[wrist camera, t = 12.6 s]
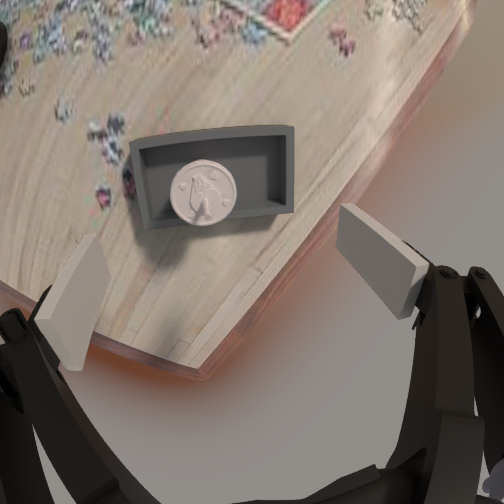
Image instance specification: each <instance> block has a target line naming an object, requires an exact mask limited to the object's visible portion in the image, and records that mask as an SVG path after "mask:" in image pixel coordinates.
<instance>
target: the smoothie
mask: <svg viewBox="0 0 504 504" xmlns="http://www.w3.org/2000/svg"><path fill="white" fill-rule="evenodd" d="M236 196H237V190H236V185H235V181H234V179H233V177H232V175H231V174H230V172H229V171H228V170H227V169H226V168H225V167H223V166H222V165H220V164H219V163H216V162H213V161H208V160H205V159H198V160H195V161H194V162H192V163H190V164H188V165H186V166H184V167H183V168H182V169H181V170H180V171H178V172H177V174H176V176H175V177H174V179H173V181H172V184H171V188H170V200H171V204H172V207H173V209H174V211H175V212H176V214H177V215H178V216H179V217H180V218H181V219H183V220H184V221H186V222H187V223H190V224H192V225H197V226H208V225H213V224H215V223H218V222H220V221H221V220H223V219H224V218H225V217H226V216H227V215H228V214H229V213H230V212H231V210H232V209H233V207H234V205H235V202H236Z"/></svg>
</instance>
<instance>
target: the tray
mask: <svg viewBox="0 0 504 504" xmlns="http://www.w3.org/2000/svg"><path fill="white" fill-rule="evenodd" d="M129 145H130V153H131V160H132V167H133V174H134V180H135V186H136V192H137V198H138V203H139V209H140V214H141V219H142V224H143V229H144V230H150V229H157V228H164V227H172V226H179V225H187V224H190V223H187V222H186V221H184V220H183V219H181V218H180V217H179V216H178V215H177V214H176V212H175V211H174V209H173V207H172V204H171V200H170V188H171V184H172V181H173V179H174V177H175V176H176V174H177V172H178V171H180V170H181V169H182V168H183V167H184V166H186V165H188V164H190V163H192V162H194V161H195V160H198V159H205V160H208V161H213V162H216V163H219V164H220V165H222V166H223V167H225V168H226V169H227V170H228V171H229V172H230V174H231V175H232V177H233V179H234V181H235V185H236V190H237V196H236V202H235V205H234V207H233V209H232V210H231V212H230V213H229V214H228V215H227V216H226V217H225V218H224V219H223V220H228V219H237V218H246V217H255V216H265V215H275V214H285V213H294V127H293V126H288V125H257V126H237V127H223V128H212V129H201V130H192V131H184V132H176V133H169V134H163V135H156V136H150V137H144V138H139V139H135V140H133V141H131V142H129Z"/></svg>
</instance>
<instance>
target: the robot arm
mask: <svg viewBox="0 0 504 504" xmlns="http://www.w3.org/2000/svg"><path fill="white" fill-rule="evenodd" d="M6 46H7V30H6V27H5V25H4V24H3V22H1V21H0V67H1V64H2V62H3V59H4V55H5V51H6ZM336 248H337V250H338V251H339V252H340V253H341V254H342V255H343V256H344V257H345V258H346V260H347V261H348V262H349V263H350V264H351V265H352V266H353V267H354V268H355V270H356V271H357V272H358V273H359V274H360V275H361V277H362V278H363V279H364V280H365V281H366V282H367V283H368V285H369V286H370V287H371V288H372V289H373V290H374V292H375V293H376V294H377V295H378V296H379V298H380V299H381V300H382V301H383V302H384V304H385V305H386V306H387V307H388V308H389V310H390V311H391V312H392V313H393V315H394V316H395V317H396V318H397V319H398V320H401V319H404V318H407V317H410V316H411V314H412V312H413V309H414V307H415V306H416V307H417V308H418V309H419V310H420V311H419V313H418V315H417V318H416V320H415V322H414V325H413V327H412V330H414V328H415V327H416V338H415V349H414V358H413V366H412V374H411V380H410V387H409V393H408V398H407V403H406V408H405V413H404V418H403V422H402V427H401V431H400V435H399V439H398V443H397V446H396V448H395V451H394V452H393V454H392V456H391V457H390V459H389V461H388V463H387V465H386V468H384V469H377V468H376V465H375V464H373V465H371V466H369V467H366V468H364V469H361V470H359V471H357V472H354V473H352V474H349V475H346V476H344V477H341V478H339V479H338V480H336V481H334V482H333V483H331V484H329V485H328V486H326V487H324V488H323V489H321V490H319V491H317V492H316V493H314V494H312V495H310V496H308V497H306V498H304V499H300V500H254V501H248V502H240V503H233V504H504V296H503V294H502V292H501V291H500V289H499V288H498V286H497V284H496V283H495V281H494V280H493V278H492V277H491V275H490V274H489V273H488V272H487V271H486V270H485V269H483V268H481V267H471V268H470V270H469V273H468V276H460V275H459V274H458V273H457V272H456V271H455V270H454V269H452V268H450V267H448V266H443V265H441V266H437V267H436V266H434V264H432V263H431V262H430V261H429V260H428V259H427V258H425V257H424V256H423V255H422V254H420V253H419V252H418V251H417V250H414V248H413V247H412V246H411V245H409V244H408V243H406V242H404V241H402V240H400V239H399V238H398V237H396V236H395V235H394V234H393V233H391V232H390V231H389V230H387V229H386V228H385V227H384V226H382V225H381V224H380V223H378V222H377V221H376V220H374V219H373V218H372V217H370V216H369V215H367V214H366V213H365V212H363V211H362V210H361V209H359V208H358V207H356V206H355V205H354V204H352V203H348V204H340V213H339V222H338V232H337V240H336ZM110 279H111V275H110V272H109V269H108V266H107V262H106V259H105V256H104V253H103V249H102V246H101V243H100V239H99V236H98V232H97V233H92V234H86V235H85V236H84V237H83V239H82V240H81V242H80V243H79V244H78V246H77V247H76V249H75V250H74V252H73V253H72V255H71V256H70V258H69V260H68V261H67V263H66V264H65V266H64V267H63V269H62V271H61V272H60V274H59V276H58V277H57V279H56V281H55V282H54V284H53V285H50V286H49V287H48V288H47V289H46V290H45V291H44V292H43V294H42V296H41V297H40V299H39V301H38V303H37V305H36V307H35V308H34V310H33V312H32V314H31V316H30V318H29V320H28V321H26V319H25V317H24V315H23V314H22V312H21V310H20V309H18V308H13V309H10V310H8V311H6V312H5V313H3V314H2V315H1V316H0V335H1V337H2V338H3V340H4V341H5V344H2V345H0V504H55V503H54V501H53V498H52V496H51V493H50V490H49V487H48V484H47V481H46V478H45V476H44V472H43V469H42V465H41V461H40V457H39V454H38V450H37V445H36V441H35V437H34V432H33V427H34V429H35V431H36V433H37V436H38V438H39V440H40V442H41V444H42V446H43V448H44V450H45V452H46V454H47V456H48V458H49V460H50V461H51V463H52V465H53V467H54V469H55V470H56V472H57V474H58V476H59V477H60V479H61V481H62V482H63V484H64V485H65V487H66V489H67V490H68V492H69V493H70V495H71V496H72V498H73V499H74V501H75V502H76V504H161V503H160V502H159V501H157V500H156V499H155V498H154V497H153V496H152V495H151V494H150V493H149V492H148V491H147V490H146V489H145V488H144V487H143V486H142V485H141V484H140V483H139V482H138V481H137V479H136V478H135V477H134V476H133V475H132V474H131V473H130V472H129V470H128V469H127V468H126V467H125V466H124V465H123V464H122V462H121V461H120V460H119V459H118V458H117V456H116V455H115V454H114V453H113V451H112V450H111V449H110V448H109V446H108V445H107V444H106V442H105V441H104V440H103V438H102V437H101V436H100V434H99V433H98V432H97V430H96V429H95V427H94V426H93V425H92V423H91V422H90V420H89V418H88V417H87V415H86V414H85V412H84V411H83V409H82V408H81V406H80V405H79V403H78V401H77V400H76V398H75V396H74V395H73V393H72V391H71V390H70V388H69V386H68V384H67V383H66V381H65V379H64V377H63V375H62V374H61V372H60V371H59V370H58V366H59V363H60V362H61V363H62V364H63V366H64V367H65V369H66V370H67V371H82V369H83V365H84V361H85V357H86V353H87V349H88V346H89V342H90V339H91V335H92V332H93V329H94V325H95V322H96V319H97V316H98V313H99V310H100V307H101V304H102V301H103V298H104V295H105V292H106V289H107V287H108V284H109V281H110ZM479 307H480V309H481V314H480V316H479V318H477V315H476V313H477V311H478V309H479ZM474 396H475V401H476V405H477V411H478V416H475V414H474ZM32 424H33V426H32ZM483 450H484V457H485V461H486V465H487V469H488V472H489V475H490V477H488V478H487V479H486V480H485V481H484V483H483V486H482V489H483V491H484V492H485V493H489V497H484V496H481V495H477V489H478V483H479V478H480V472H481V464H482V456H483Z"/></svg>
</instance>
